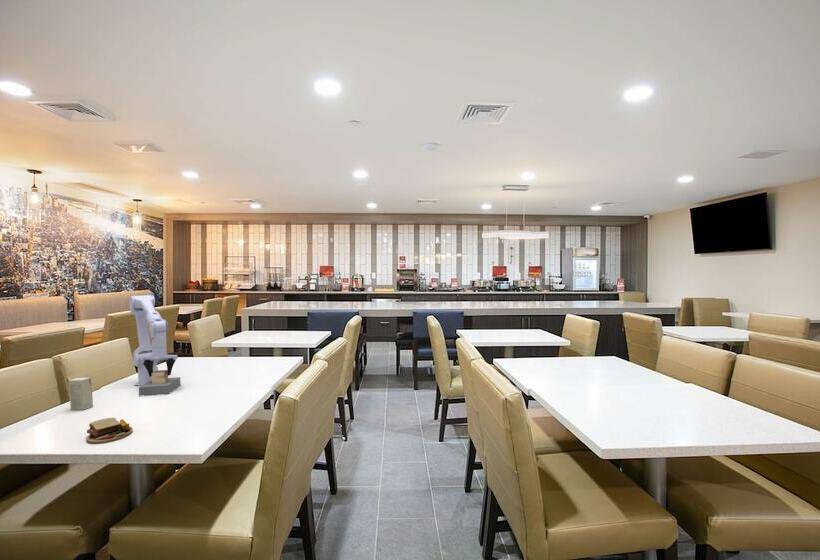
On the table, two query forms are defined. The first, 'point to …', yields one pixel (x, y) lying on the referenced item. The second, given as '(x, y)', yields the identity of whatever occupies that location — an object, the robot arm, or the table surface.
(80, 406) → the skincare box
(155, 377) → the birch cube
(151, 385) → the flat grey base plate
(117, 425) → the toy sandwich meal
